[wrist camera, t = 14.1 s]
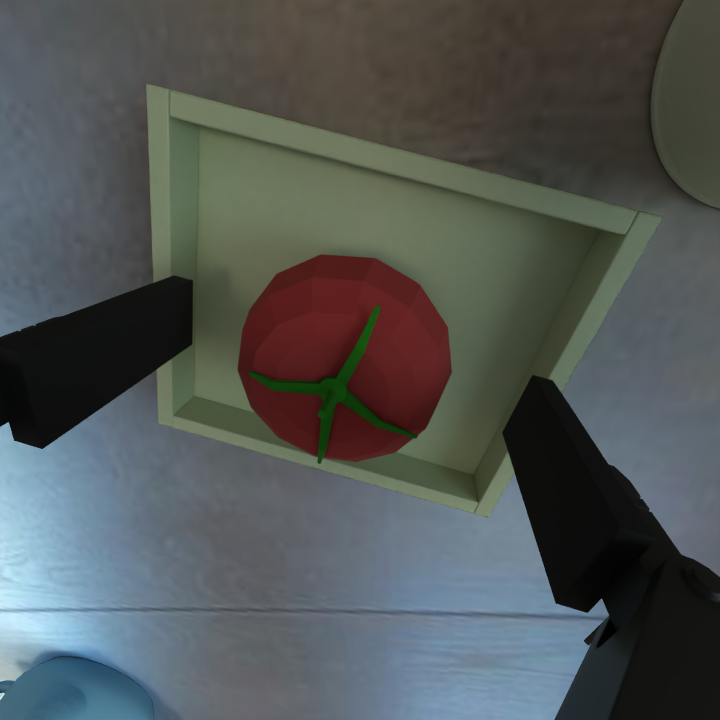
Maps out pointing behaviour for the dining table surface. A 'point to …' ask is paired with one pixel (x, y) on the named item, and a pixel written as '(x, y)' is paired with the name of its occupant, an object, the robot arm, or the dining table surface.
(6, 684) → the teapot
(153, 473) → the dining table surface
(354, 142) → the tray
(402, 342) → the tomato
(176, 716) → the dining table surface
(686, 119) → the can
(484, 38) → the dining table surface
